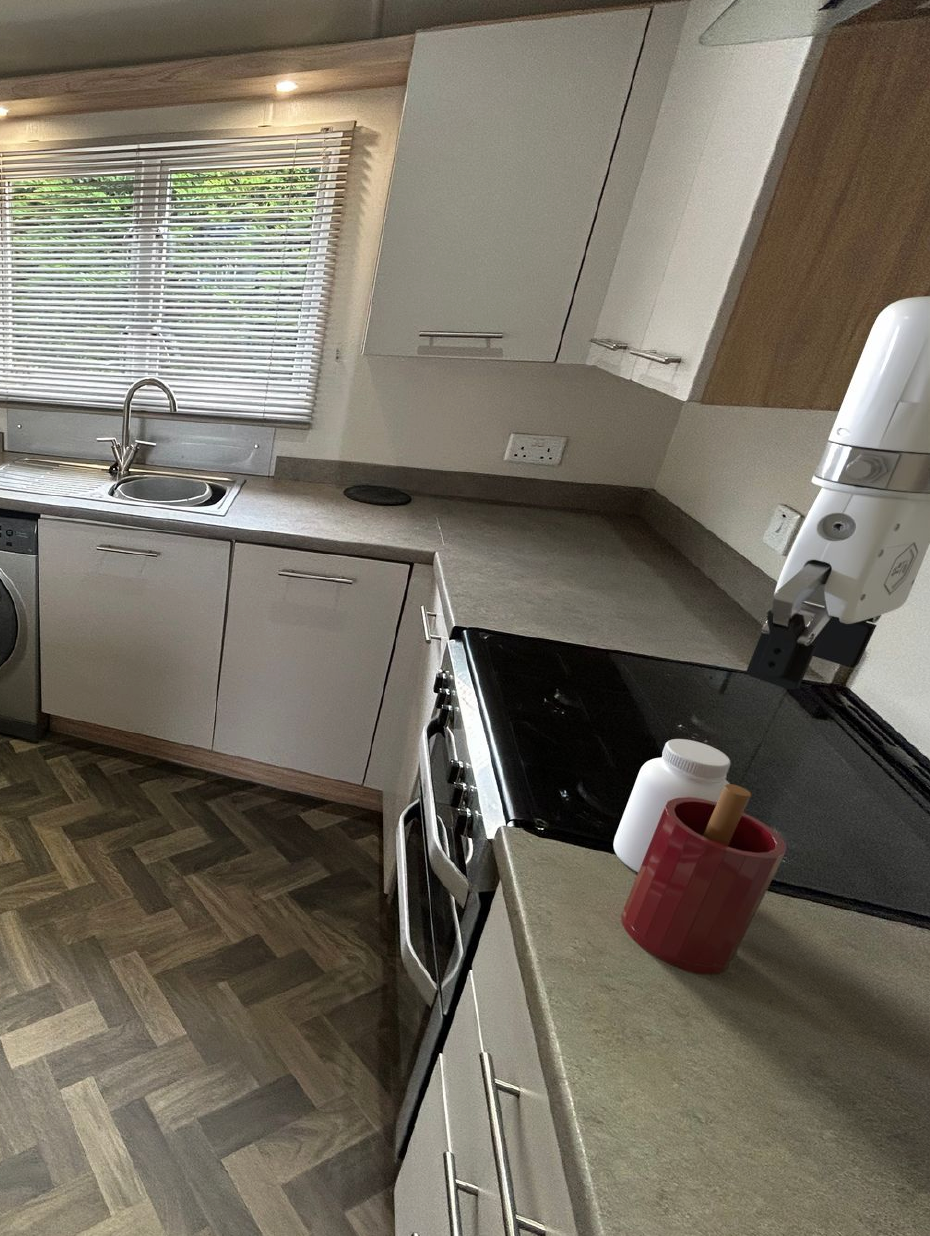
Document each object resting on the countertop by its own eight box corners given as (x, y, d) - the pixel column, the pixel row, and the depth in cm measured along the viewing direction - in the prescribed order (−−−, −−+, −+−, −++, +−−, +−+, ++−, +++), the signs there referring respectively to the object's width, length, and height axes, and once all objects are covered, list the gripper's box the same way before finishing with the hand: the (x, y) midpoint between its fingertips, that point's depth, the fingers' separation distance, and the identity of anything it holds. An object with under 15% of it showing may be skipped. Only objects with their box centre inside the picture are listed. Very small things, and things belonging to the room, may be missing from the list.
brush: (661, 904, 74) (719, 768, 68) (719, 941, 70) (787, 799, 64) (632, 919, 72) (690, 780, 66) (690, 958, 68) (757, 813, 62)
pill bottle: (594, 846, 84) (634, 737, 78) (642, 832, 86) (685, 726, 80) (666, 895, 76) (716, 780, 71) (717, 879, 79) (769, 766, 73)
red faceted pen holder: (650, 896, 76) (695, 788, 71) (747, 956, 69) (805, 842, 64) (602, 920, 73) (646, 809, 68) (699, 986, 66) (756, 868, 61)
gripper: (907, 492, 47) (807, 713, 54) (1011, 470, 54) (911, 670, 60) (765, 471, 54) (690, 671, 60) (873, 454, 60) (796, 636, 67)
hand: (801, 670), depth 60 cm, fingers open, 9 cm apart
